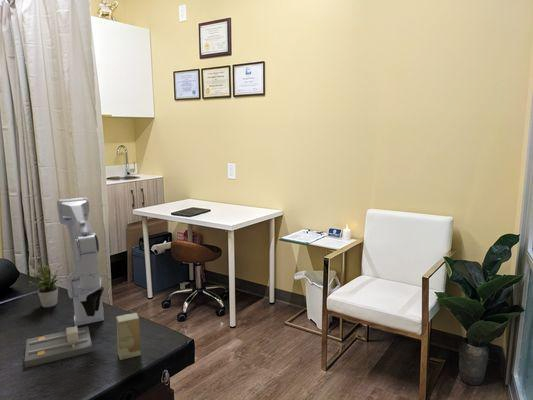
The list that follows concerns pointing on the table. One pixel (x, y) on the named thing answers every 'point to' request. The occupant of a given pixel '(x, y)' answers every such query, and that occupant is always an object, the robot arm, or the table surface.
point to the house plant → (47, 287)
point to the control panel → (56, 347)
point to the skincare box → (128, 335)
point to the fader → (72, 334)
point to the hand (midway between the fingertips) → (93, 313)
